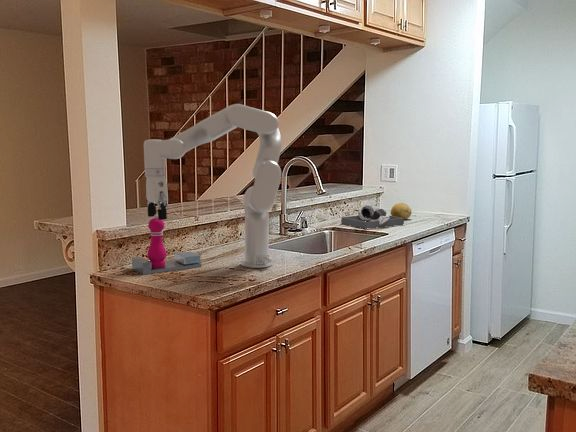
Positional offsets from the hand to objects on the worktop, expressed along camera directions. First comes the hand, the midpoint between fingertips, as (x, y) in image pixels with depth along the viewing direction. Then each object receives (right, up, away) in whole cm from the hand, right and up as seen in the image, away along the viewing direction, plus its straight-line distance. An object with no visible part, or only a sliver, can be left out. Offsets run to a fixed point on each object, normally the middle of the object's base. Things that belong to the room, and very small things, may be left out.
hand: (157, 217), depth 224 cm
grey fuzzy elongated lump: (+98, -4, +115) cm, 151 cm away
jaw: (+10, -17, +10) cm, 22 cm away
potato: (+118, -2, +137) cm, 181 cm away
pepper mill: (-1, -19, +3) cm, 19 cm away
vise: (+3, -19, +5) cm, 20 cm away
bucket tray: (+98, -4, +115) cm, 151 cm away
